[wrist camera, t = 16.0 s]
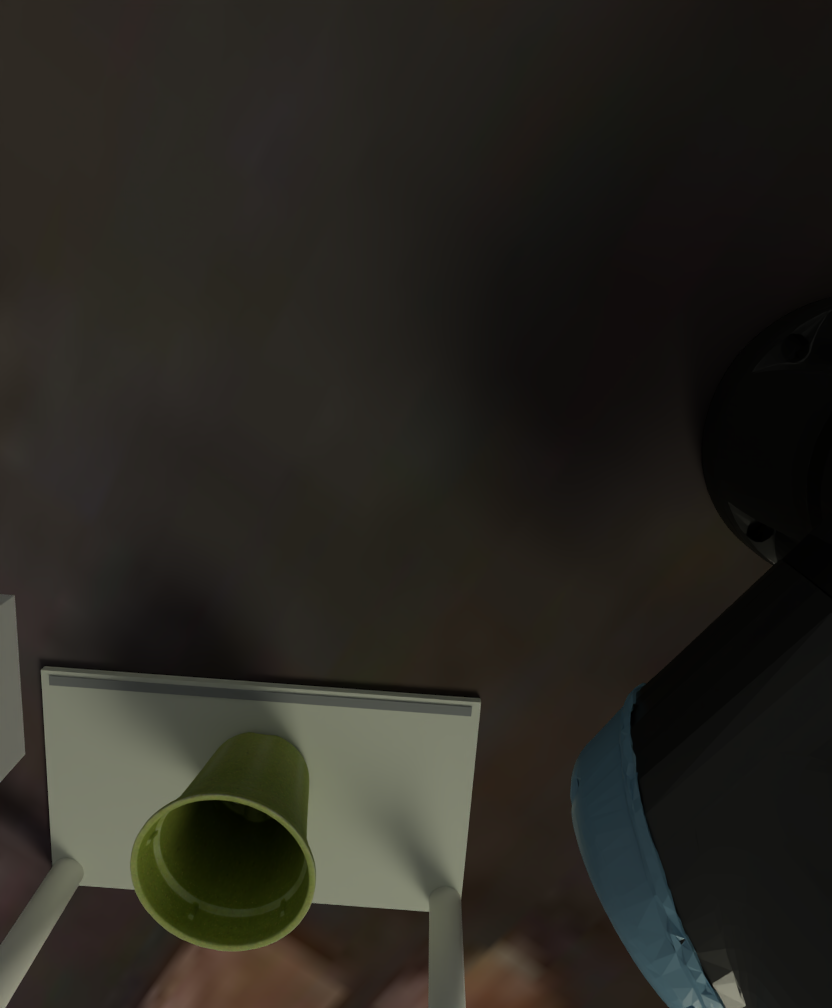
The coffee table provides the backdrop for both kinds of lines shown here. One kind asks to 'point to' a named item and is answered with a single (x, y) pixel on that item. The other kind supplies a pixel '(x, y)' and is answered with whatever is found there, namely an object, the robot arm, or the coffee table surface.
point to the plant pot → (231, 849)
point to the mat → (181, 756)
